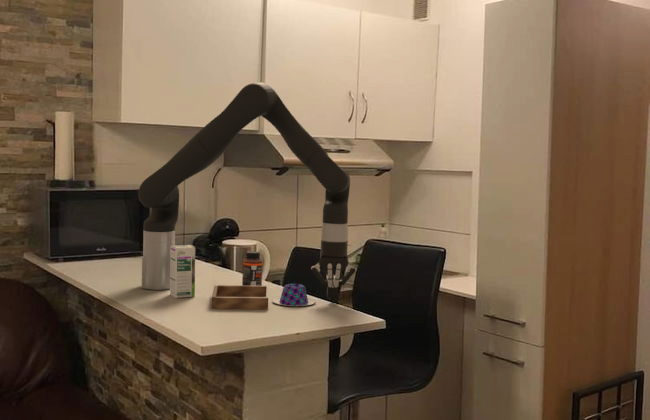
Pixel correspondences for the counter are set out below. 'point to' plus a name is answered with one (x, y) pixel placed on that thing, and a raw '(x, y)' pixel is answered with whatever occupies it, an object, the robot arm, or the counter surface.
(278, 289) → the counter surface
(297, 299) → the pudding
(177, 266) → the syrup box
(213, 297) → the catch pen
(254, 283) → the supplement bottle
